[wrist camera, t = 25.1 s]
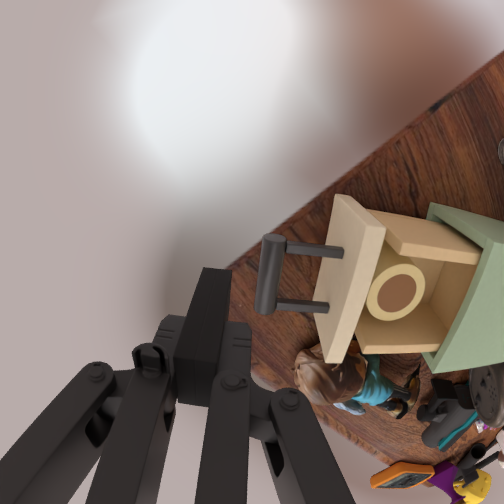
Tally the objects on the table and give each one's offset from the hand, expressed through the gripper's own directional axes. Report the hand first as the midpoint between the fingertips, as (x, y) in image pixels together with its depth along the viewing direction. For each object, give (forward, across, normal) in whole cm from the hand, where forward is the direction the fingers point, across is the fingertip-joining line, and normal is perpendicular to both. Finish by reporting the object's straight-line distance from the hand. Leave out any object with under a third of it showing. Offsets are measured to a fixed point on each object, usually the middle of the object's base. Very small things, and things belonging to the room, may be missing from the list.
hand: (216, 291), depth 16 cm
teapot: (-2, +73, -59) cm, 94 cm away
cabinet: (+8, +22, 0) cm, 23 cm away
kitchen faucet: (+2, +69, -42) cm, 81 cm away
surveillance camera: (+6, +26, -22) cm, 34 cm away
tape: (+6, +11, 0) cm, 13 cm away
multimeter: (+7, +40, -50) cm, 65 cm away
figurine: (+8, +14, -13) cm, 21 cm away
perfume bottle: (+7, +54, -53) cm, 77 cm away
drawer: (+7, +10, 0) cm, 12 cm away
